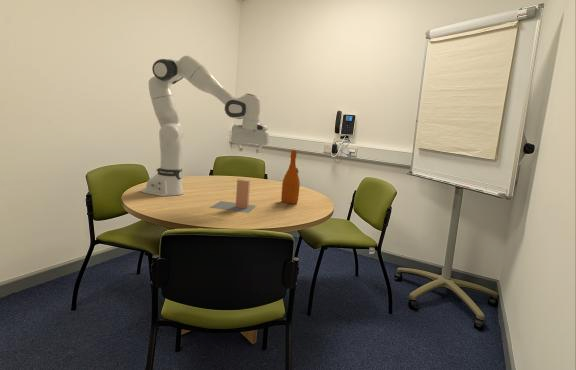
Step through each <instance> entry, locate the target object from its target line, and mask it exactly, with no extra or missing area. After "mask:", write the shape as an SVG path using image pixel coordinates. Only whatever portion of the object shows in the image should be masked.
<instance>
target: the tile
mask: <svg viewBox="0 0 576 370" xmlns="http://www.w3.org/2000/svg"><path fill="white" fill-rule="evenodd" d="M250 186H251V180H250V179H249V180H248V179H247V180H246V179H237V180H236V192H235V193H236V197H235V203H236V207H240V208H248V206H249V205H250V204H249V201H250V191H251V190H250V188H251V187H250Z"/></svg>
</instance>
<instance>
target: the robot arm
mask: <svg viewBox="0 0 576 370" xmlns="http://www.w3.org/2000/svg"><path fill="white" fill-rule="evenodd" d="M151 71H152V74H153V75H154V76H152V77H151V78H149V80H148V90H149V96H150V99H151V100H150V101H151V103H152V107H153V111H154V113H155V116H156V119H157V122H158V124H159V125H160V129H159V148H160V167H159V168H156V169H155V172H157V173H156V174H155V175H154V176H153V177H151V178H149V179H148V180H147V182H146V185H145V188H142V189H141V193H144V194H149V195H154V196H158V197H167V196H170V197H171V196H172V197H173V196H180V195H183V194H184V193H185V191H184V188H183V183H182V180H183V168H182V161H183V159H182V157H183V156H182V155H183V153H182V139H183V137H184V130H183V126H182V122H181V120H180V116H179V114H178V110H177V108H176V104H175V100H174V96H173V93H172V90H171V86H172V85H174V84H177V82H179V81H181V80H183V78H184V79H185V80H187V81H188V82H189V83H190V84H191V85H192V86H193V87H195V88H196V89H198V90H200V91H201V92H203V93H206V94H209V95H212V96H213V97H215V98H216V99H217V100H219V101H220V102H221V103H222V104H224V111H225V114H226V116H228V117H230V118H232V119H236V120H242V124H234V125H232V127H231V137H230V140H231V142H232V143H236V144H237V147H238V152H243V150H244V148H243V147H242V146H241V145H242V144H253V145H258V148H256V150H255V153H256V154H259V153H260V152H261V151H260V150H261V149H262V148H263V145H264V146H267V145H269V144H270V135H269V134H270V133H269V131H268V129H269V126H267V125H265V124H263V123H260V113H261V100H260V98H259V97H258V96H257V95H255V94H252V93H245V94H244V95H241V96H240V97H237V98H236V97H234V96H233V95H232V94H230V92H229V91H227V90H226V89H225V88H224V87H223V86H222V85H221V84H220V83H219V82H218V80H217V79H216V78H215V77H214V76H213V74H212V73H211V72H210V71H209V70H208V69H207V68H206V67H205V65H203V64H202V63H201V62H199V61H198V60H197V59H195V58H194V57H192V56H189V55H183V56H182V57H180V58H179V60H174V59H170V58H169V59H167V58H160V59H157V60H156V61H154V63H153V64H152V70H151Z"/></svg>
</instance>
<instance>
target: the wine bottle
mask: <svg viewBox="0 0 576 370" xmlns="http://www.w3.org/2000/svg"><path fill="white" fill-rule="evenodd" d="M297 154H298V151H297V150H296V149H291V150H290V156H289V158H290V161H289V162H290V163H289V166H288V169H287V171H286V173H285V174H284V176H283V179H282V182H281V183H282V184H281V197H280V198H281V199H280V200H281V202H282V203H283V204H287V205H295V204H298V201H299V196H300V195H299V194H300V185H301V183H300V182H301V181H300V177H299V173H300V172H299V169H298V167H297V165H296V160H297Z"/></svg>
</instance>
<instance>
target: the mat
mask: <svg viewBox="0 0 576 370" xmlns="http://www.w3.org/2000/svg"><path fill="white" fill-rule="evenodd" d="M256 207H257V205H254V204H249V206H248V208H240V207H236V202H232V201H223V200H220V201H218V202H216V203H215V204H213V205H211V206H210V207H209V208H210V209H215V210H216V209H218V210H225V211H232V212H237V213H238V212H240V213H245V214H246V213H247V214H249V213H250V212H252V210H254V209H255V208H256Z"/></svg>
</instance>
